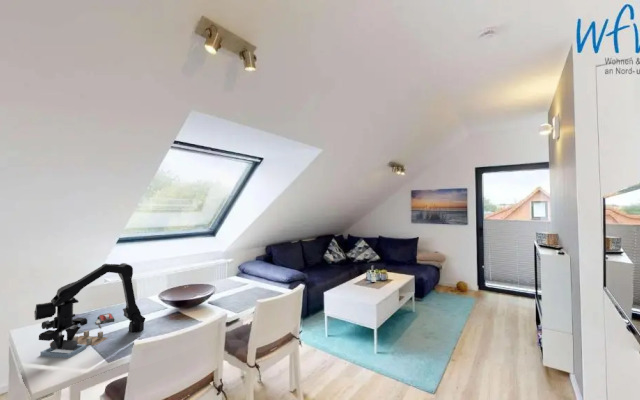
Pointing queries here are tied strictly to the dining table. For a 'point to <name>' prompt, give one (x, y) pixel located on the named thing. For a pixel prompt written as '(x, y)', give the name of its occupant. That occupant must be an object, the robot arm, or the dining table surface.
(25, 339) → the dining table surface
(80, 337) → the block
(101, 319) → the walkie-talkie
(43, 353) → the tray
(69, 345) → the tan-capped grey cylinder
